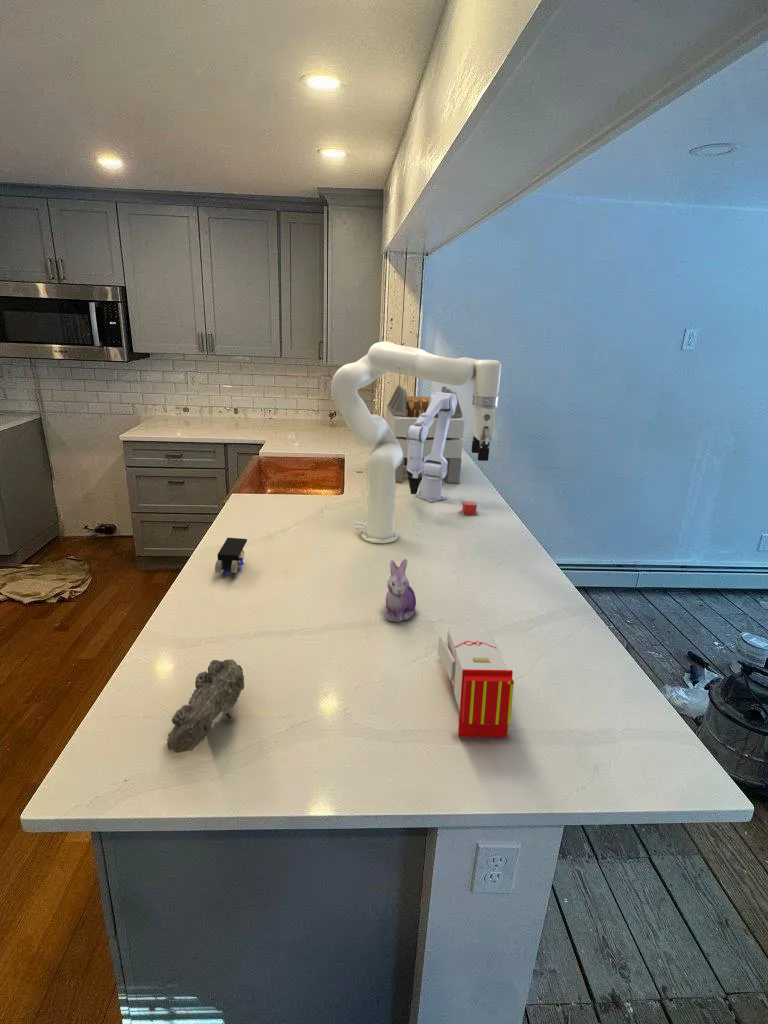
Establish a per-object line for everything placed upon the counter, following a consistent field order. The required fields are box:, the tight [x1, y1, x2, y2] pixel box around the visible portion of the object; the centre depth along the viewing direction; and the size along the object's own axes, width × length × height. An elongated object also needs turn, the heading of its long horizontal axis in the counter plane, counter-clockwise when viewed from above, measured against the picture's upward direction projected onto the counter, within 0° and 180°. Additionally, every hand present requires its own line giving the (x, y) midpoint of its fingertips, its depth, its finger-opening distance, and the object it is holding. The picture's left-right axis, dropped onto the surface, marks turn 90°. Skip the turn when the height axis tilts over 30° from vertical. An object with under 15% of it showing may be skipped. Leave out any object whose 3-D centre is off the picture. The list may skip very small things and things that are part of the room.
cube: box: [461, 500, 478, 516], centre depth 223 cm, size 4×5×4 cm
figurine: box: [384, 558, 417, 623], centre depth 145 cm, size 9×10×15 cm
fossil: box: [166, 658, 245, 754], centre depth 106 cm, size 22×10×15 cm
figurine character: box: [214, 537, 248, 578], centre depth 166 cm, size 7×8×15 cm
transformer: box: [385, 384, 465, 484], centre depth 268 cm, size 34×33×41 cm
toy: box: [437, 628, 515, 738], centre depth 117 cm, size 12×13×30 cm
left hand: (479, 456), depth 178 cm, fingers open, 9 cm apart
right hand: (413, 490), depth 221 cm, fingers open, 7 cm apart
